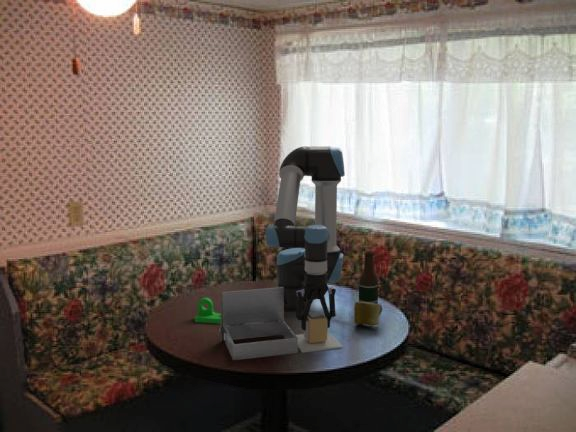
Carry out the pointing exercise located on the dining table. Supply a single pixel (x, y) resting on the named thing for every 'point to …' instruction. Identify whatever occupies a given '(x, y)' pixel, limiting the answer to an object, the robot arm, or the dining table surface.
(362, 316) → the mug
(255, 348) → the case
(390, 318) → the dining table surface
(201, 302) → the mechanical part
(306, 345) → the pad
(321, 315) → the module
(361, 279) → the beer bottle
